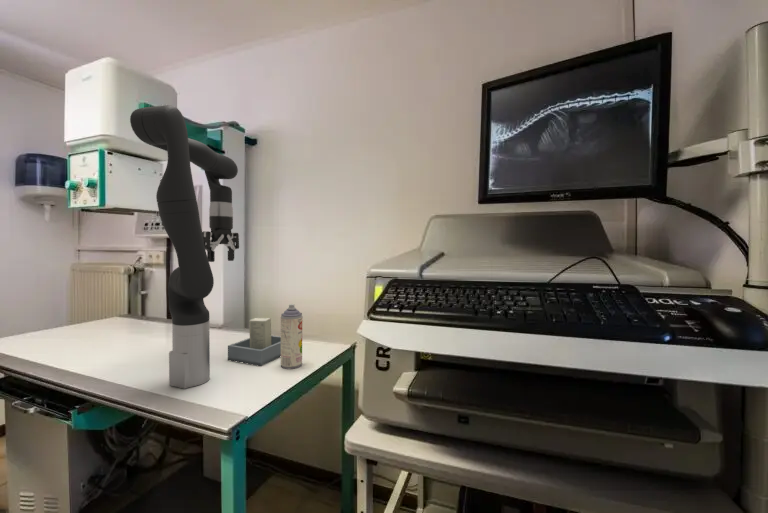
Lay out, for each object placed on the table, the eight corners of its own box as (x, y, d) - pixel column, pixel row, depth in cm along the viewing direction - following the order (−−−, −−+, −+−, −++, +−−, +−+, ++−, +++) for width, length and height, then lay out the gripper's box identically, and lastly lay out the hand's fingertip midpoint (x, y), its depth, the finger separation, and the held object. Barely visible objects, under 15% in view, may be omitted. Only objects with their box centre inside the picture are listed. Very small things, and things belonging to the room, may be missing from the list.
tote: (261, 366, 109) (261, 351, 108) (227, 360, 114) (227, 345, 113) (291, 351, 124) (291, 338, 123) (260, 346, 129) (260, 333, 128)
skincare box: (271, 351, 120) (272, 318, 119) (265, 355, 116) (265, 321, 115) (255, 350, 121) (255, 317, 120) (248, 354, 117) (248, 319, 116)
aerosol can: (302, 368, 108) (302, 306, 107) (280, 369, 106) (280, 307, 105) (302, 360, 114) (302, 302, 113) (281, 362, 113) (281, 303, 112)
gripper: (212, 213, 111) (212, 262, 112) (244, 217, 124) (244, 260, 125) (195, 214, 114) (196, 261, 114) (228, 217, 127) (229, 260, 128)
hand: (221, 261), depth 120 cm, fingers open, 8 cm apart
